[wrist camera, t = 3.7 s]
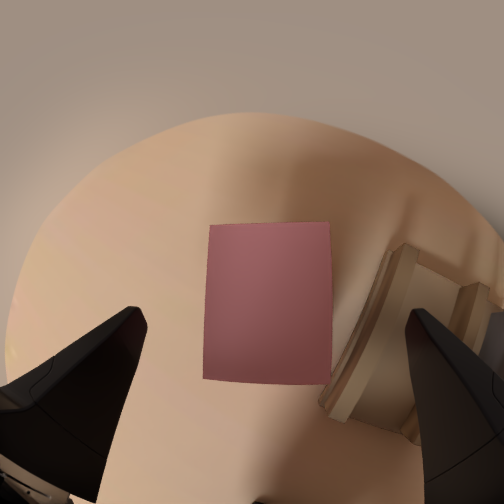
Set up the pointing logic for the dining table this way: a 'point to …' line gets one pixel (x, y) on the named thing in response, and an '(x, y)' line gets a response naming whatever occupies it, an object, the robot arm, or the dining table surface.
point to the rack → (394, 344)
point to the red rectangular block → (269, 304)
